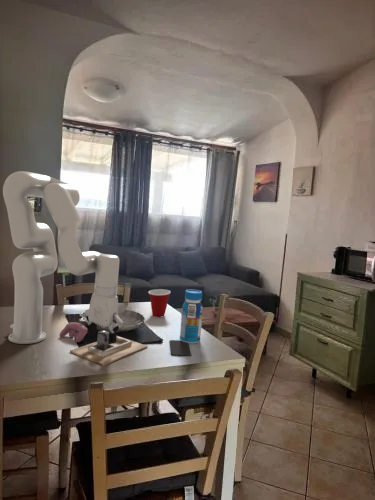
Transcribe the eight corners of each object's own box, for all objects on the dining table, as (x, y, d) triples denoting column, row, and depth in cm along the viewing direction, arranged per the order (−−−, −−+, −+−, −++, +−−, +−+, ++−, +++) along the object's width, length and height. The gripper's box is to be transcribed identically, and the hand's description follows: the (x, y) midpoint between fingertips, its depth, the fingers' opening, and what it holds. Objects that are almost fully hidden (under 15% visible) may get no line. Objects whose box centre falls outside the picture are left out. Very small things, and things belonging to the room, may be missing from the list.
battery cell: (94, 350, 128) (95, 331, 127) (102, 347, 131) (103, 328, 131) (102, 354, 126) (103, 334, 125) (110, 350, 129) (111, 331, 129)
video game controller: (84, 345, 138) (91, 326, 141) (76, 342, 135) (83, 324, 137) (65, 338, 143) (72, 321, 145) (57, 336, 139) (64, 318, 141)
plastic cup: (144, 312, 183) (146, 288, 181) (165, 312, 186) (167, 288, 185) (148, 318, 172) (150, 293, 171) (171, 318, 176) (173, 293, 174)
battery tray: (70, 352, 127) (70, 345, 127) (115, 336, 145) (115, 331, 145) (103, 365, 118) (103, 359, 118) (147, 347, 137) (147, 341, 136)
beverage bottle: (174, 339, 148) (178, 289, 146) (189, 335, 154) (193, 287, 152) (189, 345, 142) (194, 294, 140) (204, 341, 148) (209, 292, 146)
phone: (187, 340, 146) (191, 355, 131) (187, 342, 146) (191, 357, 132) (169, 339, 146) (170, 354, 131) (169, 341, 146) (170, 356, 131)
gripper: (79, 287, 128) (76, 335, 130) (116, 297, 119) (112, 349, 121) (96, 284, 134) (92, 330, 136) (132, 294, 125) (128, 343, 127)
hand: (101, 339), depth 128 cm, fingers open, 9 cm apart
